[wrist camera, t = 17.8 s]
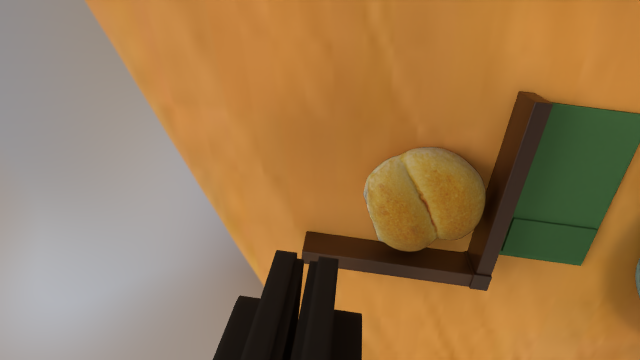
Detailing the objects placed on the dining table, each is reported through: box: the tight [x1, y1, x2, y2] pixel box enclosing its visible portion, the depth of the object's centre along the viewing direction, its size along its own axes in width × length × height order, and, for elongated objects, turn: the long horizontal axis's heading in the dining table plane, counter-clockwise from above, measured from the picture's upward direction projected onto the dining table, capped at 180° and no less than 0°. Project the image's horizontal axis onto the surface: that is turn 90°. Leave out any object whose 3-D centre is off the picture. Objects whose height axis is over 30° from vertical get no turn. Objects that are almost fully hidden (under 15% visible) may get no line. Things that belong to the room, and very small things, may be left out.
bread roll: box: [363, 147, 486, 252], centre depth 31 cm, size 8×9×4 cm
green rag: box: [499, 102, 640, 266], centre depth 31 cm, size 7×13×1 cm, turn 174°
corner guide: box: [302, 91, 553, 291], centre depth 31 cm, size 15×15×3 cm
